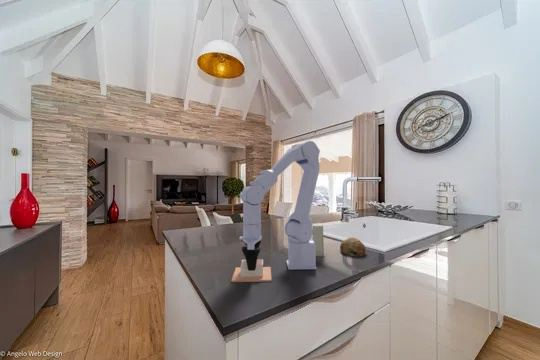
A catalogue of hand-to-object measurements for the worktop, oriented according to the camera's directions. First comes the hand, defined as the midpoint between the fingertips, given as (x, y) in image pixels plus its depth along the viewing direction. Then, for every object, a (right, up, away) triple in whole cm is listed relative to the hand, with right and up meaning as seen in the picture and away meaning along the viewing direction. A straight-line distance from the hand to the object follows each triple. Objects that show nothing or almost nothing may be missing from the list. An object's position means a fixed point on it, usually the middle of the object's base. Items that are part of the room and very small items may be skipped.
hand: (252, 265), depth 71 cm
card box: (0, -3, 0) cm, 3 cm away
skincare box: (+26, -3, +20) cm, 32 cm away
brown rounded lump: (+40, -3, +22) cm, 46 cm away
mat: (0, -3, 0) cm, 3 cm away
